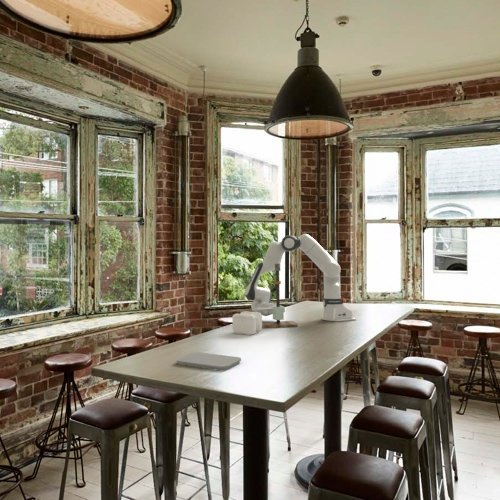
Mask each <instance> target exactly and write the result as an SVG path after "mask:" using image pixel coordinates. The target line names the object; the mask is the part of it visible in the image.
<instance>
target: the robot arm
mask: <svg viewBox="0 0 500 500" xmlns="http://www.w3.org/2000/svg"><path fill="white" fill-rule="evenodd" d="M297 249H300V250H301V251H302V252H303V253H304V254H305V255H306V256H307V257H308V258H309V259H310V260H311V261H312V262H313V263H314V264H315V266H316V267H317V268H318V269H319V270H320V271H321V272H322V273H323V299H322V305H323V311H322V316H321V320H323V321H328V322H330V321H331V322H347V321H356V320H357V317H356V316H353V311H352V309H351V308H350V307H348V306H347V305H346V304H345V303H346V302H347V300H346V298H343V297H342V296H341V295H342V294H341V292H342V291H341V289H342V288H341V270H342V268H341V265H340V264H339V263H338V262H337V261H336V259H334V257H332V255H330V254H329V253H328V252H327V250H326V249H325V248H324V247H322V245H320V243H319V242H318V241H317V240H316V239H315V238H313V237H312V236H311V235H309V234H307V233H303V234H301V235H299V236H295V235H291V234H289V235H285V236H283V238H282V239H281V241H280V242H278V241H272V242H271V243H270V244H269V245H268V248H267V250H266V252H265V257H264V258H263V260H262V261H261V262H259V263H258V264H257V265H256V268H255V270H254V272H253V274H252V276H251V278H250V280H249V283H248V284H247V286H246V288H245V290H244V296H245V298H246V299H247V300H248V301H252V303H251V304H250V305H251V306H250V307H251V312H258V313H261V315H262V316H264V317H268V316H271V315H273V306H276V302H275V303H271V302H272V297H273V294H272V292H271V289H269V288H267V287H262V286H261V287H260V286H258V285H257V284H258V283H259V280H260V278H261V276H262V275H263V274H265V273H268V272H273V271H275V264H280V265H281V262H282V258H283V255H284V253H285V252H287V253H288V252H289V253H291V252H294V251H296V250H297ZM280 306H283V305H281V304H280ZM283 307H284V313H285V312H286V308H285V306H283Z"/></svg>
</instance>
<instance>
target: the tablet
mask: <svg viewBox="0 0 500 500" xmlns="http://www.w3.org/2000/svg"><path fill="white" fill-rule="evenodd" d="M241 361H242V358H241V357H239V356H234V355H223V354H215V353H214V354H213V353H207V352H198V351H197V352H196V351H195V352H190V353H188V354H186V355H182V356H181V357H178V358H176V362H177V364H178V365H180V366H184V365H187V366H186V367H191V366H195V367H194V368H199V367H202V368H201V369H206V368H208V369H207V370H213V369H216V370H215V371H221V370H223V371H227V369H228V370H229V368H230V369H232V368H234V367H236V366H237V365H239V364H240V362H241ZM231 367H232V368H231Z"/></svg>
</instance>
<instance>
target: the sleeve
mask: <svg viewBox="0 0 500 500" xmlns="http://www.w3.org/2000/svg"><path fill="white" fill-rule="evenodd" d="M284 307H285V306H284ZM284 307H283V305H281V306H280V307H276V306H273V314H272V320H274V321H277V320H280V321H285V318H284V314H285V312H284Z"/></svg>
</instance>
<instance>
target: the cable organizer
mask: <svg viewBox="0 0 500 500" xmlns="http://www.w3.org/2000/svg"><path fill="white" fill-rule="evenodd" d="M262 316H263V315H261V313H258V312H253V311H247V310H243V311H241V312H240V313H234V314H232V320H231V321H232V332H233V333H234V334H235V333H236V335H237V334H238V335H242V334H244V335H247V336H252V335H255V334H256V333H259V332H262V330H263V328H262V322H263V317H262Z"/></svg>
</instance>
